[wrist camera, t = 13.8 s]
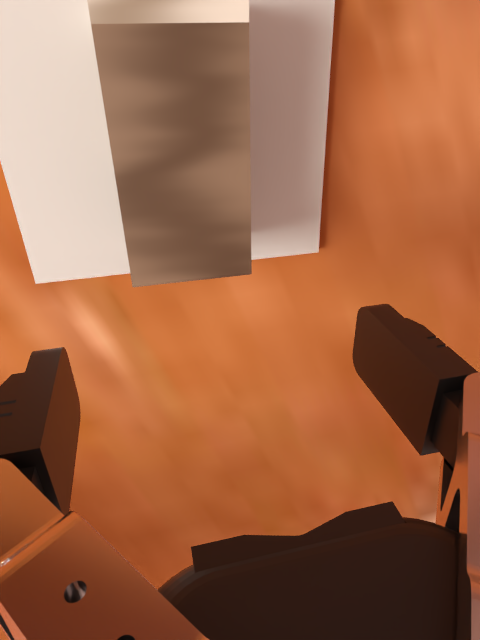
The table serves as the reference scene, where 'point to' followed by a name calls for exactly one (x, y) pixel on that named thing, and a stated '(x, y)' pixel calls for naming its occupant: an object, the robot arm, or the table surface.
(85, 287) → the table surface
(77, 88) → the white mat
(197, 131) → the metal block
